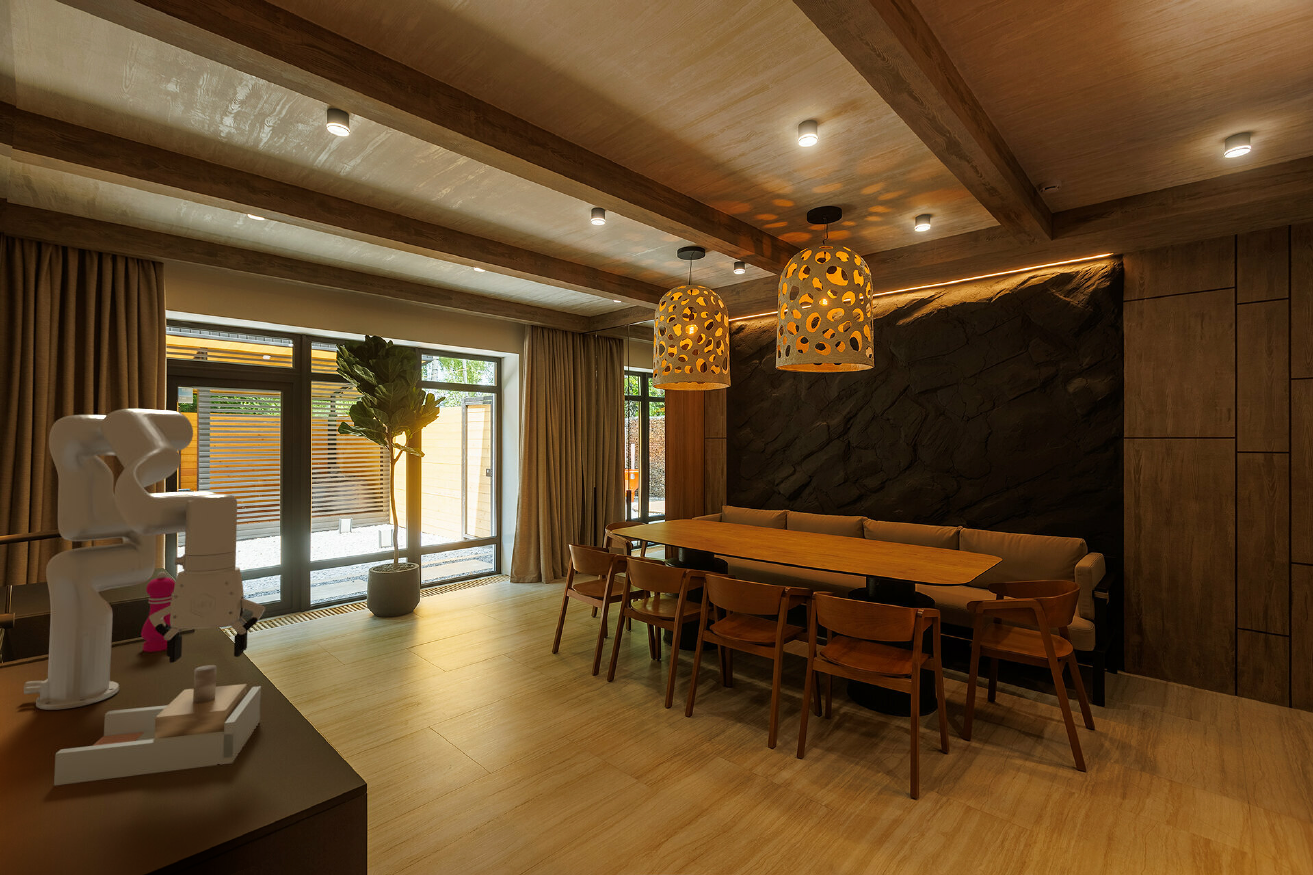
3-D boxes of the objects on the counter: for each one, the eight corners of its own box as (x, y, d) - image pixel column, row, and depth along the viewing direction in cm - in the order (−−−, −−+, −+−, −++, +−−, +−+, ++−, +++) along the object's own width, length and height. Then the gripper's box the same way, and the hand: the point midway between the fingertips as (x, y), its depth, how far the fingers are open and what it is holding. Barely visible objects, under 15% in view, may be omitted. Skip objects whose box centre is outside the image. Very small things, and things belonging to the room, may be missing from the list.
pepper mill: (155, 653, 153) (159, 575, 153) (133, 651, 154) (136, 573, 155) (183, 644, 160) (186, 569, 160) (161, 642, 161) (164, 568, 162)
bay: (54, 785, 95) (56, 740, 95) (107, 738, 110) (109, 699, 110) (232, 762, 103) (234, 721, 103) (259, 721, 118) (261, 686, 118)
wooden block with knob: (153, 758, 101) (156, 683, 101) (182, 726, 112) (185, 659, 112) (223, 750, 104) (226, 677, 104) (245, 720, 115) (248, 654, 116)
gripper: (142, 568, 102) (138, 669, 102) (259, 563, 108) (257, 659, 107) (161, 561, 109) (158, 655, 109) (271, 556, 115) (268, 646, 114)
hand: (207, 657), depth 108 cm, fingers open, 9 cm apart
